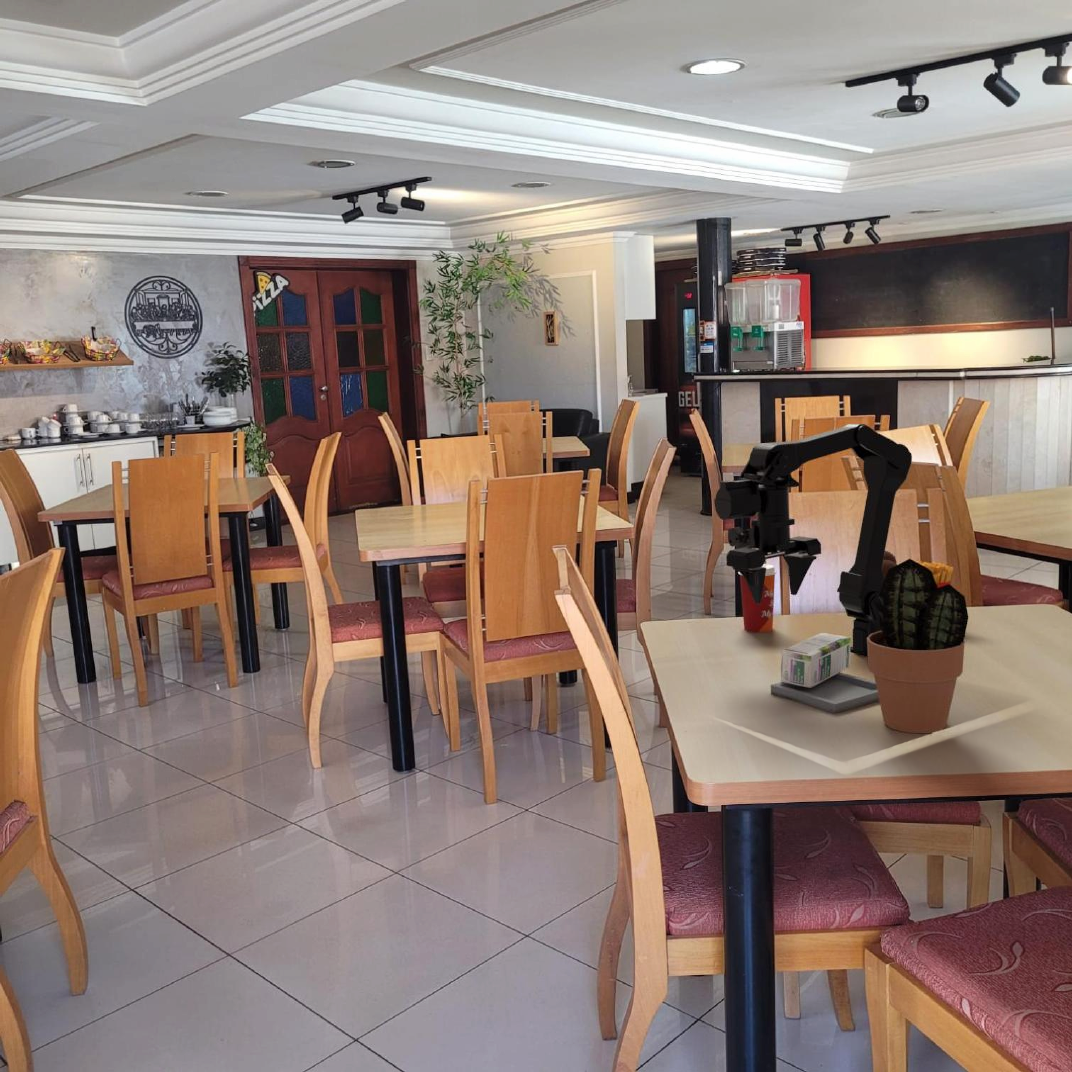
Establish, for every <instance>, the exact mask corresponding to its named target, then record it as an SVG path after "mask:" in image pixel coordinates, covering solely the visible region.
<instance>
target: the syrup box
mask: <svg viewBox="0 0 1072 1072" xmlns="http://www.w3.org/2000/svg"><path fill="white" fill-rule="evenodd" d="M850 647H851V637H849V636H844V635H837V634H831V633H825V632H820V633H818V634H816V635H813V636H811V637H809V638H807V639H806V638H805V639H804V640H802V641H801V642H798V643H795V644H794V645H793V644H792V645H791V646H789V647H787V648H784V649H782V650H781V665H780V673H781V674H780V682H784V683H789V684H794V685H799V686H804V687H809V688H811V687H813V686H815V685H817V684H819V683H821V682H823V681H824V680H826V679H828V678H830V677H832V676H834V675H836V674H838V673H842V672H843V671H845V670H846V671H847V670H848V669H850V663H851V662H850V661H851V651H850Z"/></svg>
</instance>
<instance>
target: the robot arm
mask: <svg viewBox="0 0 1072 1072" xmlns="http://www.w3.org/2000/svg"><path fill="white" fill-rule="evenodd" d="M849 449H851V451H852V453H853V454H854V455H855V456H856V457H857V458H858V459H860V460H861V461H862V462H863V471H862V472H863V476H864V480H865V483H866V486H867V493H866V498H865V505H864V511H863V517H862V521H861V526H860V532H859V537H858V543H857V549H856V554H855V561H854V564H853V565H852V567H851V568H850V569H849V571H844V570H842V571H841V572H840V574H839V575H840V576H839V586H838V587H837V589H836V592H837V593H839V594H838V600H839V603H840V604H841V605H842V607H843V608H844V610H845V613H846V616H847V617H850V618H855V619H854V620H853V627H852V646H850V652H853V653H857V654H863V655H866V656H868V649H867V637H868V636H869V635H870V634H872V633H875V632H878V631H882V630H881V628H880V616H879V593H880V591H881V588H882V585H883V583H884V580H885V578H884V574H883V571H882V564H883V559H884V553H885V551H886V545H887V542H888V537H889V530H890V525H891V519H892V514H893V509H894V503H895V498H896V494H897V492H898V491H899V489H900V488H901V486H902V485H903V484H904V483H905V481H906V480H907V478H908V474H909V471H910V469H911V466H912V461H913V455H912V453H911V451H910V450H909V447H907V446H906V444H902V443H897V442H896V441H894V440H893V439H891V438H889V437H887V436H884V435H883V434H880V433H879V432H877V431H876V430H874V429H873V428H872V427H870V426H868V425H867V424H864V423H848V424H846V425H844V426H842V427H838V428H835V429H831V430H828V431H824V432H821V433H817V434H815V435H811V436H808V437H804V438H801V439H798V440H793V441H792V440H791V441H777V442H776V441H775V442H765V443H764V442H763V443H758V444H756V445H755V446H754V447H752V450H751V452H750V455H749V457H748V458H749V459H748V461H747V463H746V465H745V466H744V467H743V470H742V471H741V474H740V475H739V477H738V479H737V480H732V481H731V480H721V481H720V482H719V488H718V490H717V492H716V494H715V498H714V499H713V501H714V502H713V503H714V508H715V512H716V514H717V516H718V517H719V519H720V520H723V521H727V520H736V519H743V518H750V517H754V516H755V515H756V518H755V519H751V522H750V528H748V529H744V530H743V529H742V528H741V527H740V526H737V527H732V528H729V529H728V530H727V541H728V544H729V546H730V547H731V548H732V547H736V548H734V549H730V550H729V551H728V552H727V553H726V554H725V555H726V556H725V557H726V560H725V561H726V566H727V567H731V568H732V570H733V571H738V572H740V573H741V574H742V575H743V577H744V579H745V580H746V582H747V585H748V587H749V590H750V592H751V595H752V597H753V600H754V602H755V603H756V604H760V603H761V600H762V595H763V588H764V581H765V574H766V568H764V567H762V566H763V564H766V560H768V559H774V558H778V557H779V558H780V557H783V559H784V561H785V563H786V564H787V569H788V581H789V582H788V583H789V585H788V586H789V592H790V594H791V595H792V596H797V595H798V593H799V591H800V588H801V586H802V584H803V581H804V579H805V577H806V576H807V573H808V571H809V570H810V568H811V565H812V564H813V562H814V561H815V560H817V555H822V543H821V542H820V541H819V539H818V538H816V537H806V536H794V537H791V528H790V526H793V525H795V521H796V520H795V518H790V495H789V494H790V491H789V489H790V488H797V487H798V488H799V486H800V482H799V481H797V479H794V478H793V477H792V474H791V473H793V472H795V471H796V470H798V469H800V468H801V467H802V466H803V465H804V464H806V463H807V462H809V461H814V460H816V459H817V460H818V459H819V458H823V457H828V456H830V455H834V454H837V453H841V452H843V451H847V450H849Z"/></svg>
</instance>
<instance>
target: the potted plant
mask: <svg viewBox="0 0 1072 1072" xmlns="http://www.w3.org/2000/svg"><path fill="white" fill-rule="evenodd" d="M915 561H916V560H913V559H911V558H908V559H906V560H904V561H903V562H900V563H899V564H897V565H896V566H894V567H893V568H891V569H889V570H888V572H887V575H886V577H885V580H884V583H883V585H882V588H881V591H880V593H879V616H880V628H881V630H882V631H878V632H875V633H872V634H870V635H869V636H868V637H867V649H868V655H867V663H868V664H867V665H868V670H869V672H871V673H872V674H873V677H874V682H876V687H877V692H878V696H879V701H878V702H879V705H880V710H881V715H882V719H883V723H884V725H885V726H887V727H888V728H889V729H892V730H894V731H898V732H902V733H906V734H907V733H910V734H931V733H932V734H933V733H936V732H941V730H942V731H943V730H944V729H945V728H946V726H947V724H948V721H949V715H950V710H951V706H952V702H953V698H954V693H955V688H956V685H957V679H958V678H959V677H960V676H961V675H962V674H963V670H964V658H965V657H964V654H965V637H966V631H967V626H968V622H969V614H968V608H967V603H966V596H965V595H964V594H963V593H961V592H960V591H959V590H957V589H956V588H955V587H954V586H953V585H951V584H947V585H945V586H942V587H939V588H938V587H937V585H936V582H935V579H934V576H933V574H932V571H931V570H929V569H928V568H926V567H924V566H923V565H921V564H919V563H917V562H915Z"/></svg>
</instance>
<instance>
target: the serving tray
mask: <svg viewBox="0 0 1072 1072" xmlns="http://www.w3.org/2000/svg"><path fill="white" fill-rule="evenodd" d="M770 695H774V696H777V697H780V698H784V699H786V700H790V701H794V702H797V703H800V704H803V705H807V706H810V707H813V708H816V709H820V710H823V711H826V712H828V713H832V714H838V713H841V712H845V711H848V710H852V709H855V708H858V707H861V706H866V705H868V704H871V703H874V702H880V701H879V696H878V692H877V687H876V682H875V680H870V679H868V678H867V679H866V678H863V677H859V676H856V675H855V676H854V675H851V674H849V673H848V674H847V673H843V672H840V673H838V674H836V675H834V676H832V677H830V678H828V679H826V680H824V681H823V682H821V683H819V684H817V685H815V686H813V687H811V688H809V687H804V686H799V685H794V684H789V683H784V682H781V681H780V682H777V683H773V684H770Z"/></svg>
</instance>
